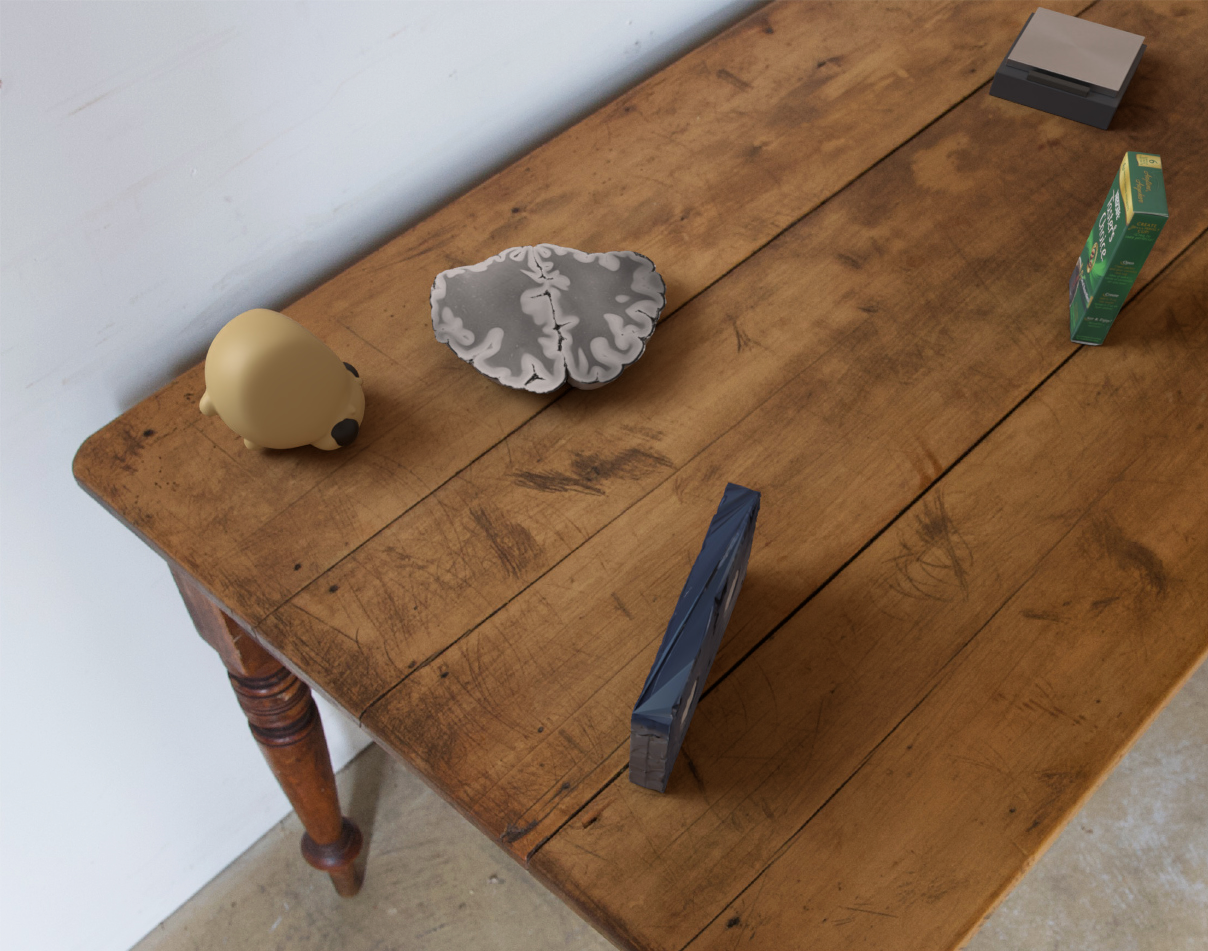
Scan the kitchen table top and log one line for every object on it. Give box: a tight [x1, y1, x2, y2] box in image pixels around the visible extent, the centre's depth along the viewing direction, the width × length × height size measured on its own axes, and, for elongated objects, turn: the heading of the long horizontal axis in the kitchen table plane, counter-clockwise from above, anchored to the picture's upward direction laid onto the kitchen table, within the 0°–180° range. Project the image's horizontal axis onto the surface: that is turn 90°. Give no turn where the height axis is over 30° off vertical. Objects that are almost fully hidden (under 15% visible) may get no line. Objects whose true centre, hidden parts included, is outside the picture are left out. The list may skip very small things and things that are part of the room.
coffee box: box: [1068, 150, 1170, 347], centre depth 90 cm, size 8×3×13 cm, turn 168°
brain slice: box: [428, 242, 667, 394], centre depth 92 cm, size 20×17×3 cm
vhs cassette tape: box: [628, 482, 762, 794], centre depth 72 cm, size 18×3×10 cm, turn 157°
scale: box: [988, 6, 1148, 131], centre depth 112 cm, size 12×12×3 cm
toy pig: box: [199, 307, 366, 452], centre depth 84 cm, size 10×12×11 cm
